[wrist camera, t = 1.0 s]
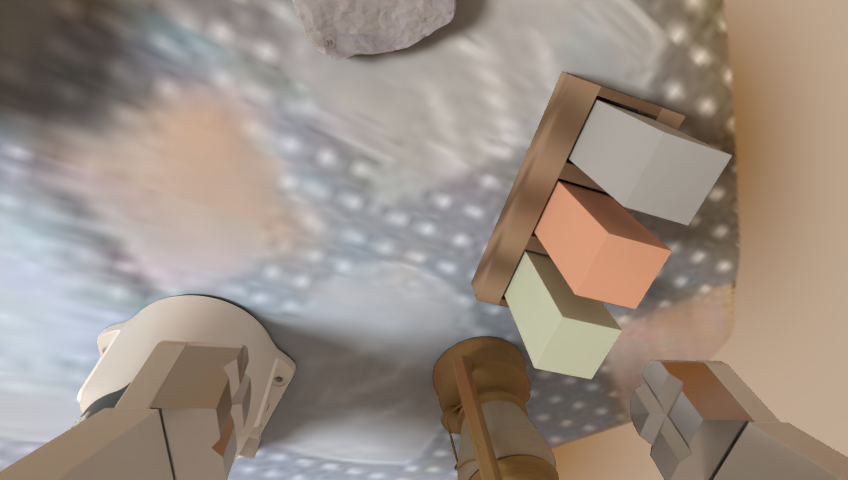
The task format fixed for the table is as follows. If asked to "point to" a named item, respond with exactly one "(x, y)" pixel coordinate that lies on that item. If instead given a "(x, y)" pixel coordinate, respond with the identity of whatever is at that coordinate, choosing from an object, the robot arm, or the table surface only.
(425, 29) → the stone block
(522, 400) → the lantern
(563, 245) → the terracotta block
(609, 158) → the slate block
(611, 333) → the sage block
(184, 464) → the robot arm
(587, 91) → the walnut rack
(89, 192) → the table surface
